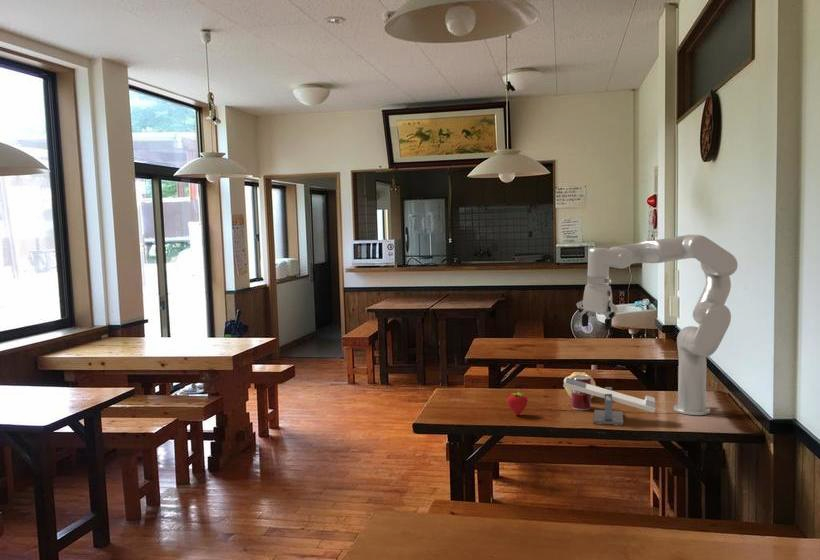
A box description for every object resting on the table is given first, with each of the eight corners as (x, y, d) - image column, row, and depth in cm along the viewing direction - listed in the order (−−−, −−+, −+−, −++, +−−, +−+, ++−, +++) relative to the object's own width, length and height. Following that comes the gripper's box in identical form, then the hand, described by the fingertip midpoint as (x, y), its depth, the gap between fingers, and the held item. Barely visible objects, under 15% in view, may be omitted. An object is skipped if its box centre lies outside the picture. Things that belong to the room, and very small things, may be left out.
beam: (653, 406, 242) (655, 397, 241) (654, 412, 234) (657, 403, 234) (564, 381, 250) (566, 372, 250) (563, 386, 243) (565, 377, 242)
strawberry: (507, 412, 254) (507, 386, 253) (527, 413, 252) (527, 386, 252) (506, 417, 248) (506, 390, 247) (527, 417, 247) (527, 390, 246)
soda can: (591, 411, 254) (591, 379, 253) (571, 410, 255) (571, 379, 254) (590, 405, 261) (590, 375, 260) (571, 405, 262) (571, 374, 261)
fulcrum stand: (622, 414, 248) (622, 386, 247) (623, 425, 235) (623, 396, 234) (594, 412, 251) (594, 385, 250) (593, 423, 238) (593, 394, 237)
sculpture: (577, 393, 280) (577, 367, 279) (601, 398, 271) (601, 372, 270) (559, 398, 273) (559, 372, 272) (583, 404, 264) (583, 376, 263)
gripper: (624, 282, 242) (622, 329, 244) (583, 279, 255) (582, 324, 257) (613, 283, 238) (611, 331, 239) (571, 280, 251) (570, 326, 252)
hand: (596, 327), depth 248 cm, fingers open, 9 cm apart
